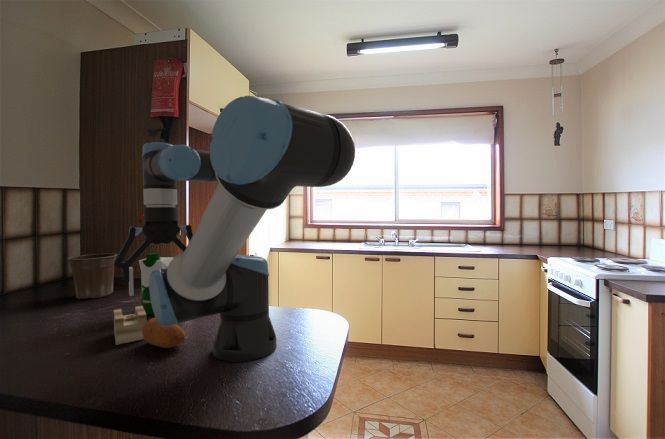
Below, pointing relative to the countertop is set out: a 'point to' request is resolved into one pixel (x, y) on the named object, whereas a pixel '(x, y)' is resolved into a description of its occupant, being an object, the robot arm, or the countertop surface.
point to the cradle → (129, 325)
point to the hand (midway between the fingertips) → (162, 290)
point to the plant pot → (93, 275)
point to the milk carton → (147, 266)
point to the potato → (162, 334)
